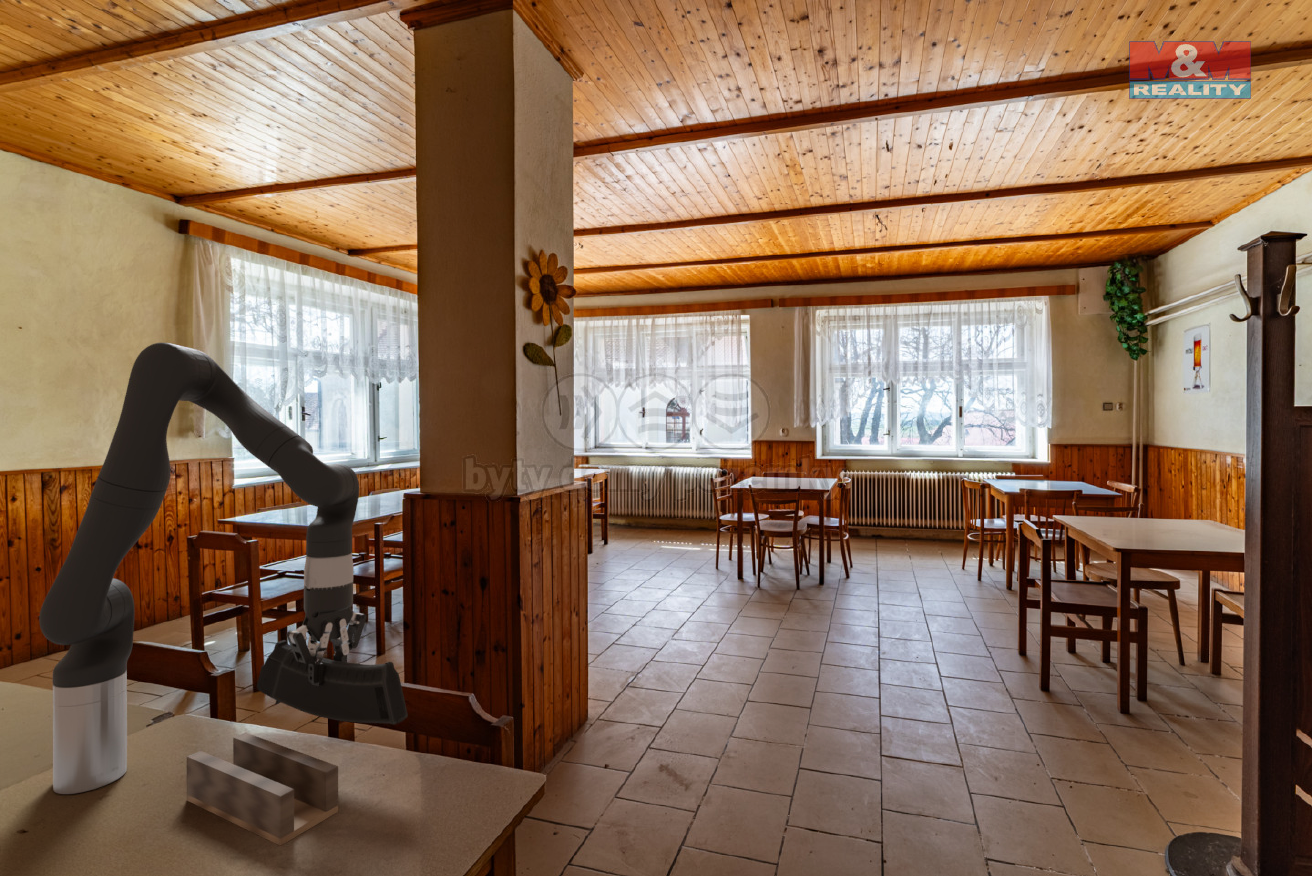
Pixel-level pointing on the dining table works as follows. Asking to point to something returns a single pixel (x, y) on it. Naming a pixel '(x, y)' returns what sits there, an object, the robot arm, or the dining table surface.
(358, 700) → the magazine
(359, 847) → the dining table surface
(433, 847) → the dining table surface
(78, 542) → the robot arm
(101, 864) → the dining table surface
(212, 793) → the slot block
